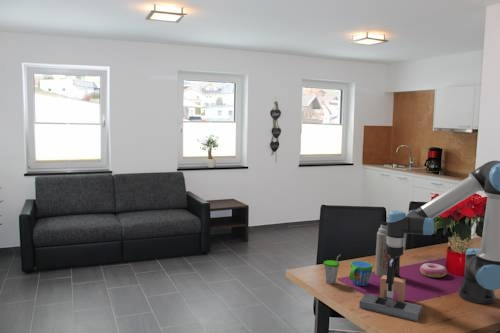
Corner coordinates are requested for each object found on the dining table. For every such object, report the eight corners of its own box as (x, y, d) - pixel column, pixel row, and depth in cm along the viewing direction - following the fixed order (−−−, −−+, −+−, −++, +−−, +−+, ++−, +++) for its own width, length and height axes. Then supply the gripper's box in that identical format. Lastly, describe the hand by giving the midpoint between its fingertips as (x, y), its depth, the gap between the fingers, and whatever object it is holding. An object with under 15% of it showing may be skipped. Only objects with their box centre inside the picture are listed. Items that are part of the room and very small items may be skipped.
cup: (319, 282, 224) (320, 253, 222) (328, 278, 229) (330, 250, 228) (332, 286, 218) (333, 256, 217) (341, 282, 224) (343, 253, 222)
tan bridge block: (404, 300, 204) (405, 279, 203) (401, 304, 199) (403, 282, 198) (382, 295, 209) (383, 274, 208) (379, 299, 204) (380, 278, 203)
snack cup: (363, 277, 232) (364, 258, 231) (379, 284, 223) (380, 264, 222) (341, 283, 223) (342, 263, 222) (357, 290, 215) (358, 269, 214)
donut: (445, 272, 244) (445, 263, 243) (448, 280, 231) (449, 271, 230) (418, 269, 247) (419, 260, 247) (420, 277, 235) (421, 268, 234)
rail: (421, 312, 191) (422, 305, 191) (417, 321, 183) (417, 314, 182) (365, 299, 203) (366, 293, 203) (359, 307, 195) (359, 301, 194)
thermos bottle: (391, 277, 233) (394, 224, 230) (375, 276, 235) (378, 223, 231) (390, 272, 240) (393, 221, 237) (374, 271, 242) (377, 220, 239)
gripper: (391, 238, 212) (389, 285, 215) (380, 249, 194) (377, 300, 197) (408, 241, 208) (405, 288, 211) (398, 252, 190) (395, 304, 193)
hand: (392, 294), depth 204 cm, fingers open, 8 cm apart
